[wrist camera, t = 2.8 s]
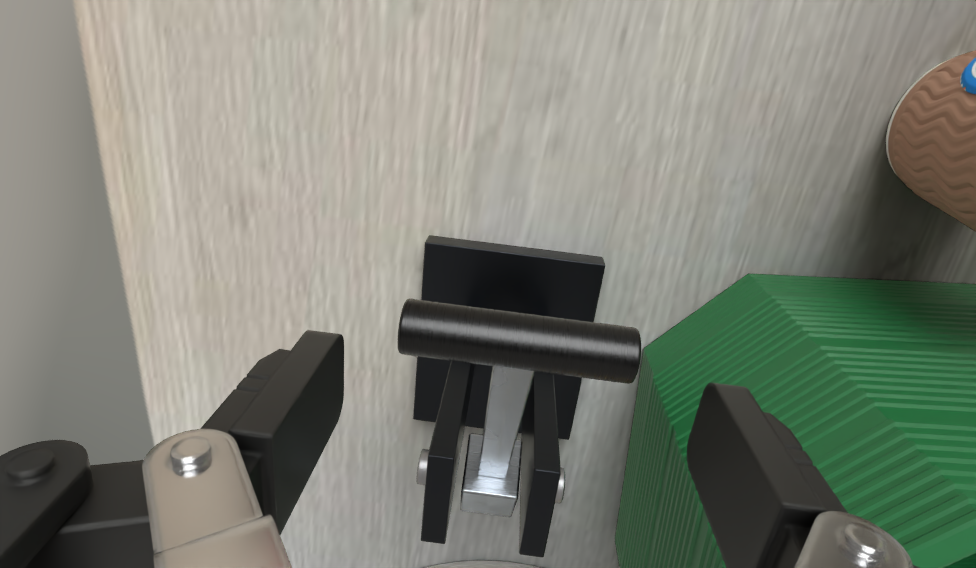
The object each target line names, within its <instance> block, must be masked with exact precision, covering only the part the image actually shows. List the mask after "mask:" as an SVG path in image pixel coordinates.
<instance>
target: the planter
mask: <svg viewBox="0 0 976 568" xmlns="http://www.w3.org/2000/svg"><path fill="white" fill-rule="evenodd" d="M708 383H719V384H727V385H735V386H743V387H746V388H748V389H749V391H750V392H751V394H752V395H753V397H754V398H755V400H756V402H757V403H758V405H759V406H760V408H761V409H762V411H763V412H766V413H771V414H772V415H773V416H774V417H776V418H777V419H778V420H779V421H780V422H782V423H783V424H784V425H785V426H787V427H788V428H789V429H790V430H791V431H792V433H793V434H794V436H795V437H796V438H797V440H798V441H799V443H800V444H801V446H802V447H803V448H802V450H803V451H806V453H807V454H808V456H809V457H810V459H811V460H812V462H813V466H816V467H817V469H818V470H819V472H820V473H821V475H822V476H823V478H824V479H825V480H826V482H827V483H828V485H829V486H830V488H831V489H832V491H833V492H834V493H835V495H836V496H837V498H838V499H839V501H840V502H841V504H842V505H843V506H844V508H845V509H846V511H847V512H848V513H849V514H853V515H856V516H858V517H861V518H863V519H865V520H868V521H870V522H871V523H873V524H875V525H877V526H878V527H880V528H881V529H883V530H884V531H886V532H887V533H888V534H890V535H891V536H892V537H893V538H894V539H896V540H897V541H898V542H899V543H900V544H901V546H902V547H903V548H904V549H905V550H906V552H907V553H908V555H909V557H910V558H911V560H912V564H913V565H915V566H917V567H920V568H976V284H961V283H939V282H917V281H896V280H874V279H853V278H831V277H809V276H788V275H766V274H747V275H746V276H744V277H743V278H742V279H740V280H739V281H737V282H736V283H735V284H733V285H732V286H730V287H729V288H728V289H726V290H725V291H723V292H722V293H721V294H719V295H718V296H716V297H715V298H714V299H712V300H711V301H709V302H708V303H707V304H705V305H704V306H702V307H701V308H700V309H698V310H697V311H695V312H694V313H693V314H691V315H690V316H688V317H687V318H686V319H684V320H683V321H681V322H680V323H679V324H677V325H676V326H674V327H673V328H672V329H670V330H669V331H667V332H666V333H665V334H663V335H662V336H660V337H659V338H658V339H656V340H655V341H653V342H652V343H651V344H649V345H648V346H646V347H645V348H644V352H643V358H642V365H641V371H640V378H639V384H638V391H637V397H636V404H635V410H634V417H633V424H632V430H631V437H630V443H629V450H628V456H627V463H626V469H625V476H624V482H623V489H622V495H621V502H620V508H619V515H618V522H617V528H616V535H615V544H616V550H617V555H618V561H619V566H620V568H726V565H725V563H724V560H723V557H722V555H721V552H720V550H719V547H718V544H717V542H716V539H715V537H714V534H713V531H712V529H711V526H710V524H709V521H708V518H707V516H706V513H705V511H704V508H703V505H702V503H701V500H700V497H699V495H698V492H697V490H696V487H695V484H694V482H693V479H692V477H691V474H690V471H689V468H688V464H687V444H688V439H689V436H690V432H691V429H692V426H693V423H694V420H695V416H696V413H697V410H698V407H699V403H700V400H701V397H702V394H703V391H704V389H705V387H706V385H707V384H708Z"/></svg>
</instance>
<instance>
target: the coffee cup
mask: <svg viewBox="0 0 976 568" xmlns="http://www.w3.org/2000/svg"><path fill="white" fill-rule="evenodd" d="M886 152H887V156H888V160H889V164H890V165H891V167H892V169H893V171H894V173H895V174H896V175H897V176H898V177H899V178H900V179H901V181H902V182H904V183H905V184H906V186H907V187H908V188H910V189H911V190H913V193H915V194H916V195H918V196H920V197H921V198H923V199H924V200H926V201H927V202H929V203H931V204H932V205H934V206H935V207H937V208H939V209H940V210H942V211H943V212H945V213H947V214H948V215H950V216H952V217H954V218H955V219H957V220H958V221H960V222H961V223H963V224H964V225H966V226H968V227H969V228H971V229H972V230H974V231H976V51H972V52H968V53H965V54H962V55H959V56H956V57H953V58H951V59H948V60H946V61H944V62H942V63H940V64H938V65H936V66H935V67H933V68H932V69H930V70H929V71H927V72H926V73H924V74H923V75H922V76H921V77H920V78H919V79H918V80H917V81H916V82H915V83H913V84H912V85H911V87H910V88H909V89H908V90H907V92H906V93H905V94H904V95H903V96H902V98H901V99H900V101H899V103H898V105H897V106H896V108H895V110H894V111H893V114H892V117H891V119H890V122H889V125H888V130H887V136H886Z"/></svg>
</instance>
